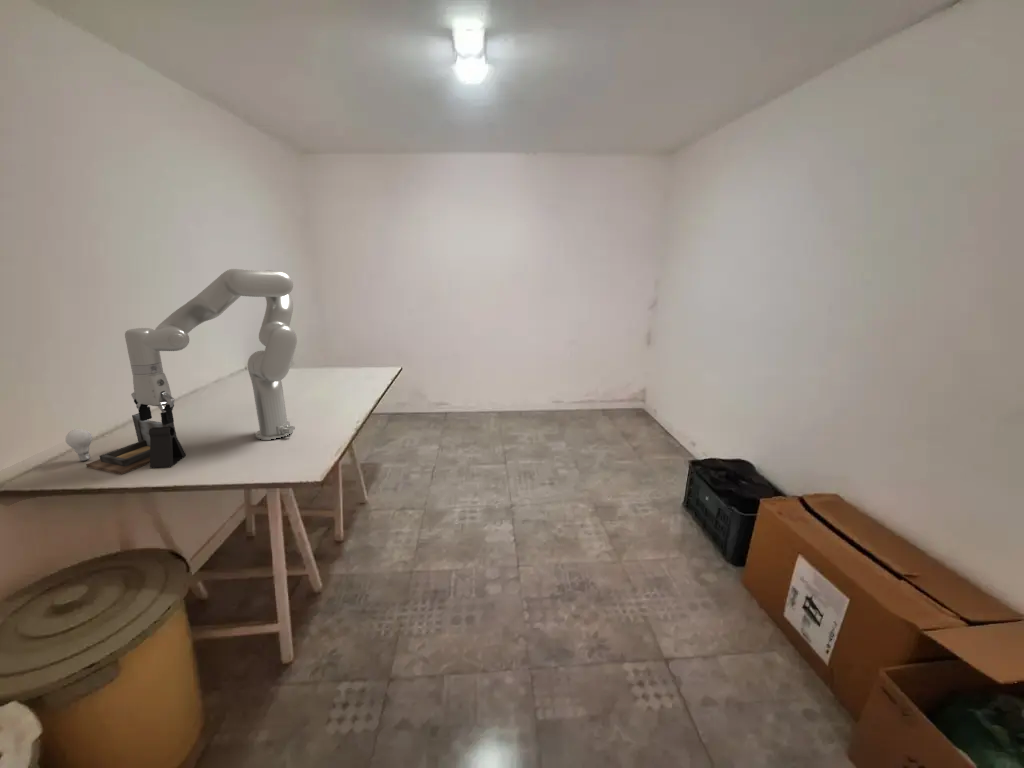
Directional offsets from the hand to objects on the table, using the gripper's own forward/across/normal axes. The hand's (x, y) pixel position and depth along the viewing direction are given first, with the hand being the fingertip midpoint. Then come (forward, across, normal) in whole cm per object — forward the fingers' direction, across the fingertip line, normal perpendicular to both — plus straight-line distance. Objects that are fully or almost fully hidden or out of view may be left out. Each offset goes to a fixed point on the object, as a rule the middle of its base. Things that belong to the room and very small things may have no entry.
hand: (157, 421), depth 147 cm
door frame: (+14, +13, +1) cm, 19 cm away
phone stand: (+14, 0, -1) cm, 14 cm away
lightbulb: (+15, +27, +7) cm, 31 cm away
